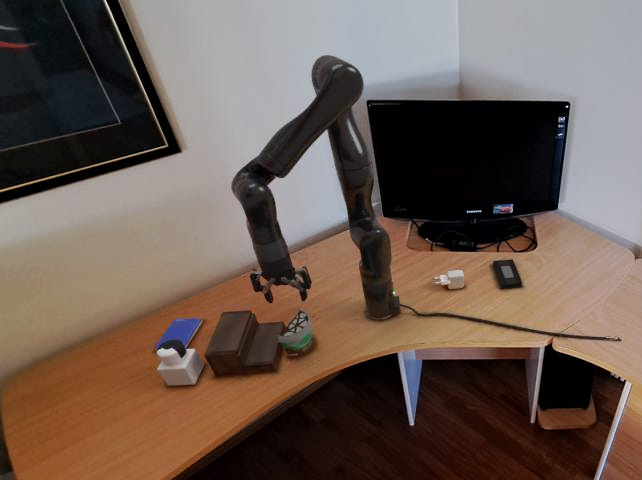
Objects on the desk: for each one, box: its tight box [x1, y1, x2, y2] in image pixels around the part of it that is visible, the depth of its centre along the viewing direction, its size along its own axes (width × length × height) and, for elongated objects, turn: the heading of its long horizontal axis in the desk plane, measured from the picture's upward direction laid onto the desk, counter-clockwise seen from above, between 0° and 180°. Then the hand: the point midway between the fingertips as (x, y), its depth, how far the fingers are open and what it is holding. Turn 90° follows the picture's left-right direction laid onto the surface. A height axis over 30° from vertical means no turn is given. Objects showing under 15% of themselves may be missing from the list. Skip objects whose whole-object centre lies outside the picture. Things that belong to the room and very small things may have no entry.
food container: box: [278, 308, 314, 359], centre depth 130 cm, size 12×6×10 cm, turn 168°
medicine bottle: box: [155, 340, 205, 387], centre depth 120 cm, size 7×7×12 cm
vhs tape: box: [492, 258, 523, 290], centre depth 162 cm, size 8×14×2 cm, turn 11°
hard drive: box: [153, 318, 204, 352], centre depth 134 cm, size 2×8×12 cm
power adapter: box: [431, 269, 465, 290], centre depth 155 cm, size 11×5×6 cm, turn 102°
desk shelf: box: [203, 309, 287, 378], centre depth 128 cm, size 16×17×9 cm
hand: (288, 300), depth 121 cm, fingers open, 8 cm apart
